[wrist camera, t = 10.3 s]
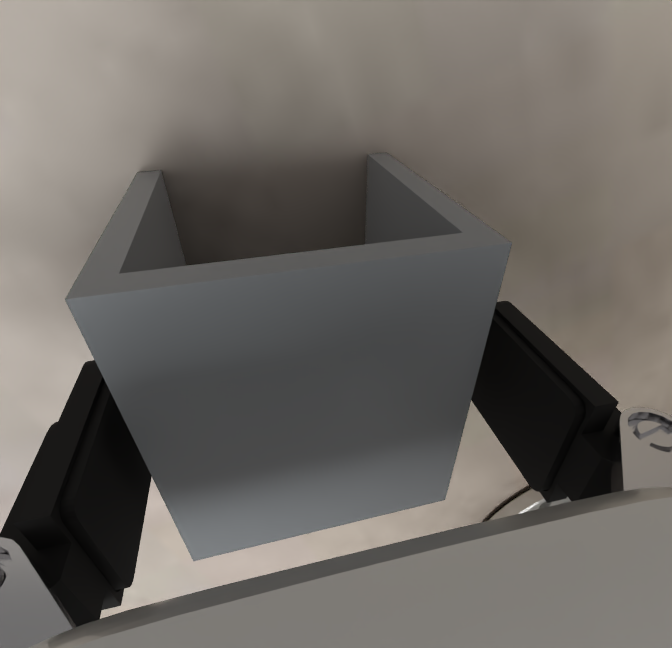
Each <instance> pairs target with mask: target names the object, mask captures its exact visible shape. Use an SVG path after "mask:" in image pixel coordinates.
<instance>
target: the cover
mask: <svg viewBox="0 0 672 648" xmlns="http://www.w3.org/2000/svg"><path fill="white" fill-rule="evenodd" d="M511 245H512V242H510V241H509V240H508V239H506V238H505V237H503V236H502V235H501V234H499V233H498V232H496V231H495V230H494V229H492V228H491V227H489V226H488V225H487V224H485V223H484V222H483V221H481V220H480V219H478V218H477V217H476V216H474V215H473V214H471V213H470V212H469V211H467V210H466V209H465V208H463V207H462V206H460V205H459V204H458V203H456V202H455V201H453V200H452V199H451V198H449V197H448V196H446V195H445V194H444V193H442V192H441V191H440V190H438V189H437V188H435V187H434V186H433V185H431V184H430V183H428V182H427V181H426V180H424V179H423V178H421V177H420V176H419V175H417V174H416V173H415V172H413V171H412V170H410V169H409V168H408V167H406V166H405V165H403V164H402V163H401V162H399V161H398V160H396V159H395V158H394V157H392V156H391V155H390V154H388V153H376V154H368V159H367V194H366V230H365V244H364V245H356V246H348V247H339V248H331V249H322V250H314V251H306V252H297V253H289V254H280V255H272V256H264V257H255V258H247V259H238V260H230V261H222V262H213V263H205V264H196V265H188V266H186V262H185V258H184V255H183V251H182V247H181V243H180V239H179V236H178V232H177V228H176V224H175V220H174V217H173V213H172V209H171V205H170V202H169V198H168V194H167V190H166V186H165V183H164V179H163V175H162V171H161V170H158V171H145V172H137V174H136V176H135V178H134V179H133V181H132V183H131V185H130V186H129V188H128V190H127V192H126V193H125V195H124V197H123V199H122V200H121V202H120V204H119V206H118V207H117V209H116V211H115V213H114V214H113V216H112V218H111V220H110V221H109V223H108V225H107V227H106V228H105V230H104V232H103V234H102V235H101V237H100V239H99V241H98V242H97V244H96V246H95V248H94V249H93V251H92V253H91V255H90V256H89V258H88V260H87V262H86V263H85V265H84V267H83V269H82V270H81V272H80V274H79V276H78V277H77V279H76V281H75V283H74V285H73V286H72V288H71V290H70V292H69V293H68V295H67V297H66V299H65V300H66V302H67V304H68V307H69V309H70V311H71V313H72V315H73V317H74V319H75V321H76V323H77V325H78V327H79V329H80V331H81V333H82V335H83V337H84V339H85V341H86V343H87V345H88V347H89V349H90V351H91V353H92V355H93V357H94V360H95V362H96V364H97V366H98V368H99V370H100V372H101V374H102V376H103V378H104V380H105V382H106V384H107V386H108V388H109V390H110V392H111V394H112V396H113V398H114V400H115V402H116V404H117V406H118V408H119V410H120V412H121V415H122V417H123V419H124V421H125V423H126V425H127V427H128V429H129V431H130V433H131V435H132V437H133V439H134V441H135V443H136V445H137V447H138V449H139V451H140V453H141V455H142V457H143V459H144V461H145V463H146V465H147V467H148V470H149V472H150V474H151V476H152V478H153V480H154V482H155V484H156V486H157V488H158V490H159V492H160V494H161V496H162V498H163V500H164V502H165V504H166V506H167V508H168V510H169V512H170V514H171V516H172V518H173V520H174V522H175V525H176V527H177V529H178V531H179V533H180V535H181V537H182V539H183V541H184V543H185V545H186V547H187V549H188V551H189V553H190V555H191V557H192V559H193V561H196V560H200V559H204V558H209V557H213V556H217V555H221V554H225V553H229V552H233V551H237V550H241V549H245V548H250V547H254V546H258V545H262V544H266V543H270V542H274V541H278V540H282V539H286V538H291V537H295V536H299V535H303V534H307V533H311V532H315V531H319V530H323V529H327V528H332V527H336V526H340V525H344V524H348V523H352V522H356V521H360V520H364V519H368V518H372V517H377V516H381V515H385V514H389V513H393V512H397V511H401V510H405V509H409V508H413V507H418V506H422V505H426V504H430V503H434V502H438V501H442V500H445V498H446V494H447V490H448V487H449V483H450V479H451V475H452V471H453V467H454V464H455V460H456V456H457V452H458V448H459V444H460V441H461V437H462V433H463V429H464V425H465V421H466V418H467V414H468V410H469V406H470V402H471V398H472V395H473V391H474V387H475V383H476V379H477V375H478V372H479V368H480V364H481V360H482V356H483V352H484V349H485V345H486V341H487V337H488V333H489V329H490V326H491V322H492V318H493V314H494V310H495V306H496V303H497V299H498V295H499V291H500V287H501V283H502V280H503V276H504V272H505V268H506V264H507V260H508V257H509V253H510V249H511Z"/></svg>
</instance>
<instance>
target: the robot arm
mask: <svg viewBox="0 0 672 648" xmlns="http://www.w3.org/2000/svg"><path fill="white" fill-rule="evenodd" d="M471 400H472V402H473V403H474V405H475V406H476V407H477V409H478V410H479V412H480V413H481V415H482V416H483V418H484V419H485V421H486V422H487V424H488V425H489V426H490V428H491V429H492V431H493V432H494V434H495V435H496V437H497V438H498V440H499V441H500V443H501V444H502V446H503V447H504V448H505V450H506V451H507V453H508V454H509V456H510V457H511V459H512V460H513V462H514V463H515V465H516V466H517V467H518V469H519V470H520V472H521V473H522V475H523V476H524V478H525V479H526V481H527V482H528V484H529V485H530V486H531V488H532V489H530V490H528V491H527V492H525V493H523V494H521V495H520V496H518V497H517V498H515V499H514V500H512V501H511V502H509V503H508V504H506V505H505V506H504V507H503V508H501V509H500V510H499V511H498V512H496V513H495V514H494V515H493V516H492V517H491V518H490V519H489V520H488V521H486V522H481V523H477V524H473V525H469V526H464V527H460V528H456V529H452V530H448V531H444V532H439V533H435V534H431V535H427V536H423V537H419V538H415V539H410V540H406V541H402V542H398V543H394V544H390V545H386V546H381V547H377V548H373V549H369V550H365V551H361V552H357V553H353V554H348V555H344V556H340V557H336V558H332V559H328V560H324V561H320V562H316V563H312V564H308V565H303V566H299V567H295V568H291V569H287V570H283V571H279V572H275V573H271V574H267V575H263V576H259V577H255V578H251V579H247V580H243V581H239V582H235V583H231V584H227V585H223V586H218V587H214V588H210V589H207V590H203V591H199V592H195V593H192V594H188V595H184V596H180V597H176V598H173V599H169V600H165V601H161V602H158V603H154V604H150V605H146V606H142V607H139V608H135V609H131V610H128V611H124V612H121V613H118V614H115V615H112V616H108V617H105V618H102V619H100V614H101V610H104V609H108V608H113V607H117V606H121V602H122V597H123V592H124V588H128V587H130V586H131V585H132V582H133V578H134V573H135V568H136V562H137V556H138V551H139V545H140V539H141V533H142V528H143V522H144V516H145V511H146V505H147V499H148V494H149V488H150V482H151V474H150V472H149V470H148V467H147V465H146V463H145V461H144V459H143V457H142V455H141V453H140V451H139V449H138V447H137V445H136V443H135V441H134V439H133V437H132V435H131V433H130V431H129V429H128V427H127V425H126V423H125V421H124V419H123V417H122V415H121V412H120V410H119V408H118V406H117V404H116V402H115V400H114V398H113V396H112V394H111V392H110V390H109V388H108V386H107V384H106V382H105V380H104V378H103V376H102V374H101V372H100V370H99V368H98V366H97V364H96V362H95V360H94V361H87V362H85V364H84V365H83V367H82V370H81V372H80V374H79V376H78V379H77V381H76V383H75V385H74V388H73V390H72V392H71V394H70V396H69V399H68V401H67V403H66V405H65V408H64V410H63V412H62V414H61V417H60V419H59V421H58V422H55V423H54V424H53V425H51V427H50V428H49V430H48V432H47V434H46V436H45V438H44V440H43V442H42V445H41V447H40V449H39V451H38V453H37V455H36V458H35V460H34V462H33V464H32V466H31V468H30V470H29V473H28V475H27V477H26V479H25V481H24V483H23V486H22V488H21V490H20V492H19V494H18V496H17V499H16V501H15V503H14V505H13V507H12V509H11V511H10V514H9V516H8V518H7V520H6V522H5V524H4V527H3V529H2V531H1V533H0V648H672V416H670V415H668V414H666V413H663V412H661V411H658V410H655V409H650V408H645V407H632V408H629V409H626V410H625V411H624V412H623V413H621V412H620V411H619V410H618V409H617V408H616V406H617V404H618V401H617V400H616V399H615V398H614V397H613V396H612V395H610V394H609V393H608V392H607V391H606V390H605V389H604V388H603V387H602V386H601V385H600V384H598V383H597V382H596V381H595V380H594V379H593V378H592V377H591V376H590V375H589V374H588V373H587V372H585V371H584V370H583V369H582V368H581V367H580V366H579V365H578V364H577V363H576V362H575V361H573V360H572V359H571V358H570V357H569V356H568V355H567V354H566V353H565V352H564V351H563V350H561V349H560V348H559V347H558V346H557V345H556V344H555V343H554V342H553V341H552V340H551V339H549V338H548V337H547V336H546V335H545V334H544V333H543V332H542V331H541V330H540V329H539V328H538V327H536V326H535V325H534V324H533V323H532V322H531V321H530V320H529V319H528V318H527V317H526V316H524V315H523V314H522V313H521V312H520V311H519V310H518V309H517V308H516V307H515V306H514V305H512V304H511V303H510V302H508V301H501V302H497V303H496V306H495V310H494V314H493V318H492V322H491V326H490V329H489V333H488V337H487V341H486V345H485V349H484V352H483V356H482V360H481V364H480V368H479V372H478V375H477V379H476V383H475V387H474V391H473V395H472V398H471Z"/></svg>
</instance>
